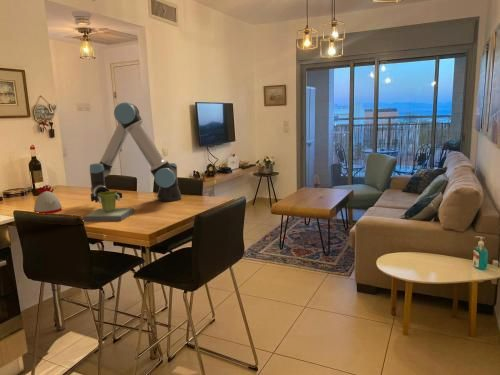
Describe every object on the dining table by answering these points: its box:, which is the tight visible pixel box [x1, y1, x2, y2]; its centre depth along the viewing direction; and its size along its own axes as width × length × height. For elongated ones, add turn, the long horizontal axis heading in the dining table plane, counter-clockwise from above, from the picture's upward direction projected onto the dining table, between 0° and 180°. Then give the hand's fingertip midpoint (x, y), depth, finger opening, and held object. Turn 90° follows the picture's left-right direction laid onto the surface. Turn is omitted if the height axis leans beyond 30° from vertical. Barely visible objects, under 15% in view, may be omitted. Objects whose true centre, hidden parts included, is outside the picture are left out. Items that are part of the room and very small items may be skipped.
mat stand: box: [82, 207, 135, 222], centre depth 196 cm, size 20×18×3 cm
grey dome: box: [33, 185, 63, 214], centre depth 210 cm, size 14×14×15 cm
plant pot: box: [98, 191, 118, 211], centre depth 195 cm, size 9×9×9 cm
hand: (109, 199), depth 190 cm, fingers closed on plant pot, 8 cm apart
